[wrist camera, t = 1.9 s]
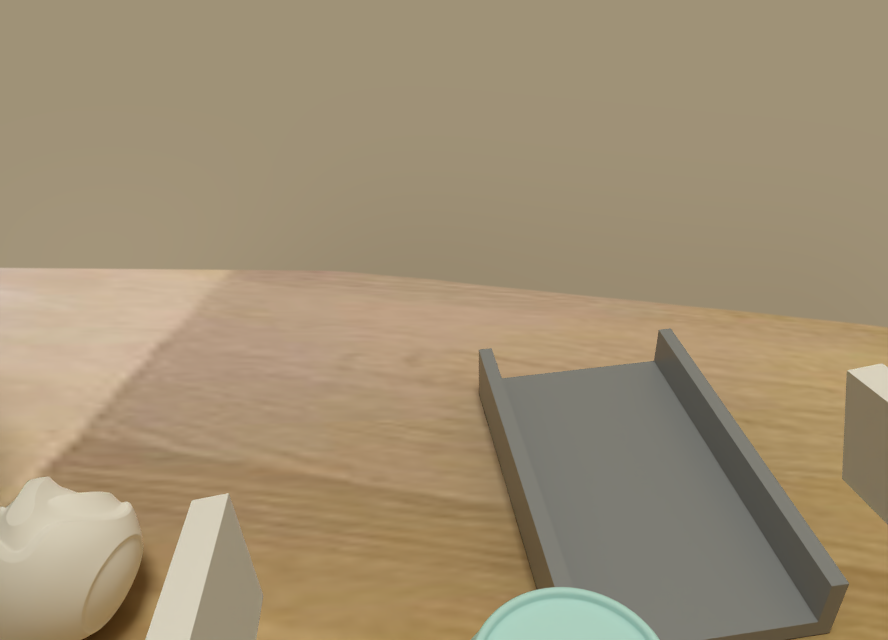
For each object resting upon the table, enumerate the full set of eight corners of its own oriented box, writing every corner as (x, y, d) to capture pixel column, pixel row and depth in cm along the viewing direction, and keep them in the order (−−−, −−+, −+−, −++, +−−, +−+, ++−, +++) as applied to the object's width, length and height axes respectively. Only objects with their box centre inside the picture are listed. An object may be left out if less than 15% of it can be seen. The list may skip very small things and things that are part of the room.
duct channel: (562, 674, 34) (567, 626, 32) (479, 393, 51) (478, 349, 49) (829, 632, 36) (849, 583, 34) (663, 371, 52) (670, 328, 50)
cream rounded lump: (162, 536, 42) (126, 427, 37) (156, 662, 36) (111, 548, 31) (1, 570, 40) (-57, 460, 36) (-35, 708, 34) (-109, 595, 30)
